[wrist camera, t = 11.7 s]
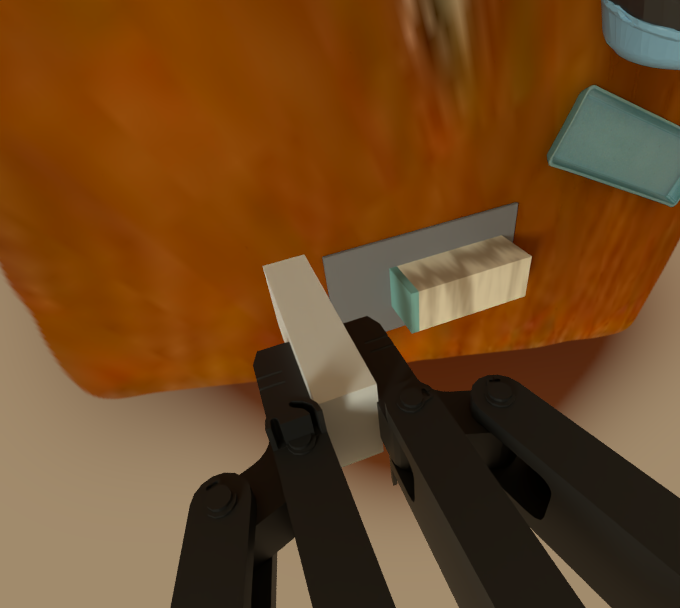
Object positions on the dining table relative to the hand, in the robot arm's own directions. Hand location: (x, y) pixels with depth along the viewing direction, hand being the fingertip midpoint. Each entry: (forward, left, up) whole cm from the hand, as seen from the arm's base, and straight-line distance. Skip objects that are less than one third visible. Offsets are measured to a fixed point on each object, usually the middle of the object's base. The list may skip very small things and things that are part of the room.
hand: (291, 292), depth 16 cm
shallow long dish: (-36, +37, -30) cm, 60 cm away
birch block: (-2, +29, -26) cm, 39 cm away
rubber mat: (-6, +31, -29) cm, 43 cm away
